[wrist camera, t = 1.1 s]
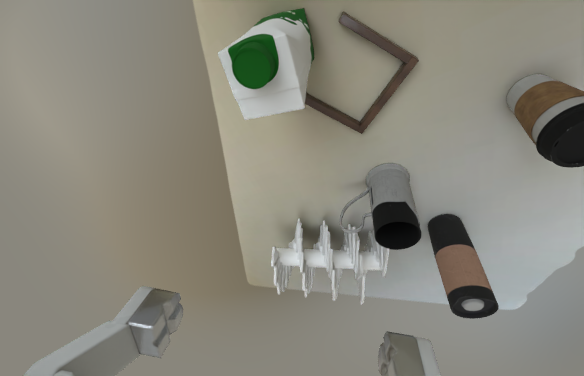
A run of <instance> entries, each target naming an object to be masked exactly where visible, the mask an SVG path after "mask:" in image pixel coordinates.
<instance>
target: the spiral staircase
mask: <svg viewBox="0 0 584 376" xmlns="http://www.w3.org/2000/svg"><path fill="white" fill-rule="evenodd" d="M301 227H302V222H300V219H299V218H298V222H297V225H296V232H295V238H294V239H293V241H291V243H289V248H277V249H276V247H273V249H272V260H271V266H272V267H273V268H274V285H276V284H277V291H278V294H280V290H281V291H282V292H284V291H285V287H287V285H288V281H289V276H291V271H292V268H294V266H299V268H300V273H302V274H303V289H302V290H305V297H307V293H310V288H311V289H312V283H313V276H315V267H316V268H317V267H324V268H326V272H328V277H330V279H331V287H332V298H333V301H335V300H336V299H337V295H338V285H339V281H340V277H341V276H342V271H343V269H354V273H355V280H357V282H358V286H359V294H360V303H361V304H363V302H364V301H365V277H366V275H367V273H368V270H380V271H381V272H382V276H383V277H385V275H386V269H387V263H388V256H389V250H390V249H388V248H385V247H382V246H381V245H379V244H378V243H377V242H376V240H375V235H374V229H373V231H372V234H371V232H369V234H368V243H367V245H365V251H363V252H360V251H359V243H360V240H359V236H358V233H347V234H346V232H344V240H343V245H341V251H340V249H338V250H333V249H330V232H328V226H327V225H325V221H324V220H323V227H322V225H320V237H318V243H316V244H314V246H313V249H303V228H301ZM347 230H355V227H351V228H350V224H348V228H347ZM315 246H316V249H315ZM310 275H311V276H310ZM307 287H308V292H307Z"/></svg>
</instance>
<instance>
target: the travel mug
mask: <svg viewBox="0 0 584 376" xmlns="http://www.w3.org/2000/svg"><path fill="white" fill-rule="evenodd" d="M428 230H429V235H430V239H431V243H432V247H433V251H434V255H435V258H436V262H437V265H438V268H439V272H440V275H441V278H442V282H443V285H444V288H445V291H446V295H447V298H448V301H449V305H450V308H451V310H452V312H453V313H454V314H455V315H457V316H460V317H463V318H482V317H487V316H490V315H492V314H494V313H495V312H496V311H497V310H498V303H497V301H496V298H495V296H494V294H493V291H492V289H491V286H490V284H489V282H488V279H487V277H486V274H485V272H484V270H483V267H482V265H481V262H480V260H479V257H478V255H477V253H476V250H475V248H474V246H473V244H472V242H471V240H470V238H469V236H468V234H467V232H466V229H465V227H464V225H463V223H462V221H461V220H460V218H459V217H457V216H455V215H451V214H444V215H439V216H437V217H435V218H433V219H432V220H431V221H430V222H429V224H428Z"/></svg>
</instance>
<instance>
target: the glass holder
mask: <svg viewBox="0 0 584 376" xmlns="http://www.w3.org/2000/svg"><path fill="white" fill-rule="evenodd" d="M409 180H410V175H409V173H408V171H407V170H406V169H405V168H404V167H402V166H400V165H398V164H392V163H387V164H382V165H379V166H377V167H375V168H373V169H372V170H371V171H370V172H369V173H368V175H367V178H366V185H367V190H366V191H365V192H363V193H362V194H360V195H359V196H357V197H355V198H354V199H353V200H351V201H350V202H349V203H347V205H346V206H345V207H344V209H343V210H342V213H341V215H340V227H341V229H342V230H343V231H344V232H346V233H357V232H359V231H360V230H361V229H362V228H363V226H364V218H365V217H367V216H372V219H373V225H374V235H375V240H376V242H377V243H378V244H379V245H381V246H382V247H385V248H388V249H395V250H398V249H405V248H409V247H411V246H413V245H415V244H416V243H417V242H418V241H419V240H420V238H421V230H420V222H419V218H418V214H417V211H416V207H415V203H414V200H413V196H412V192H411V188H410V185H409ZM368 192H369V195H370V205H371V213H366V214H364V215H363V216H362V224H361V226H360V227H359V228H357V229H355V230H347V229H345V228H343V226H342V217H343V214H344V213H345V211H346V209H347V208H348V207H349V206H350V205H351V204H352V203H354V202H355V201H357V200H358V199H360V198H361V197H363V196H364V195H366V194H367V193H368Z"/></svg>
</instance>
